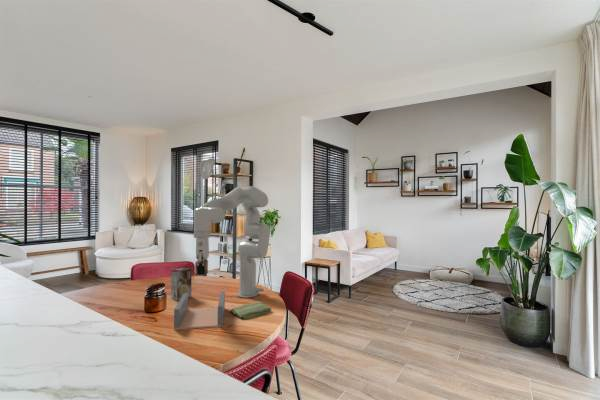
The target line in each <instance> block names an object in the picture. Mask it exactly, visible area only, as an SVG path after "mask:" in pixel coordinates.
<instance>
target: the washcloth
mask: <svg viewBox="0 0 600 400" xmlns="http://www.w3.org/2000/svg"><path fill="white" fill-rule="evenodd" d="M229 311H230V312H231V313H232V314H233V315H235V316H237V317H238V318H241V319H243V320H247V319H250V318H253V317H257V316H261V315H264V314H267V313H270V312H271V311H272V307H271V306H268V305H266V304H264V303H263V302H261V301H260V300H259V301H258V300H257V301H254V302H251V303H246V304H244V305H243V304H242V305H239V306H235V307H233V308H231V309H230V310H229Z"/></svg>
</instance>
